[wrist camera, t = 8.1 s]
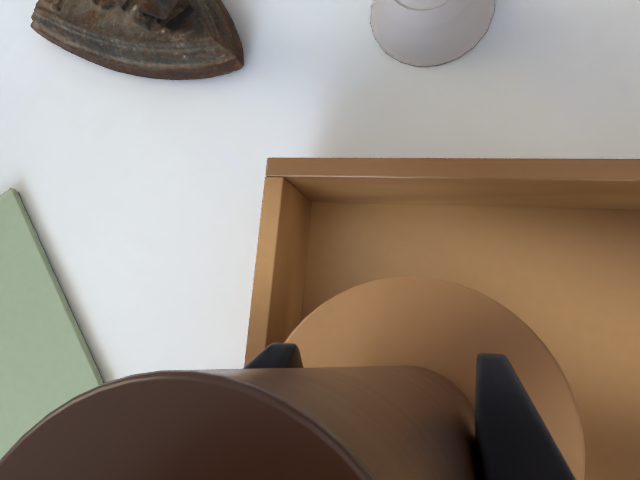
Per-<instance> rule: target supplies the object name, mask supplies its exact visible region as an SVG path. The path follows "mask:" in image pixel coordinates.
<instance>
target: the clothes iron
mask: <svg viewBox="0 0 640 480" xmlns="http://www.w3.org/2000/svg"><path fill="white" fill-rule="evenodd" d="M31 18H32V20H33V22H32V23H31V27H32V28H33V29H34V30H35V31H36V32H37V33H38V34H40V35H41V36H43V37H44V38H46V39H47V40H49V41H51V42H52V43H54V44H56V45H58V46H60V47H61V48H63V49H65V50H67V51H69V52H70V53H73V54H75V55H77V56H79V57H81V58H84V59H86V60H88V61H90V62H93V63H96V64H98V65H101V66H103V67H106V68H109V69H112V70H115V71H118V72H123V73H128V74H132V75H136V76H142V77H149V78H157V79H170V80H184V79H185V80H189V79H203V78H210V77H214V76H219V75H224V74H228V73H230V72H233V71H236V70H238V69H241V68H242V67H243V65H244V63H243V50H242V45H241V42H240V39H239V36H238V33H237V31H236V28H235V26H234V23H233V21H232V19H231V17H230V15H229V13H228V11H227V10H226V8H225V7H224V5H223V3H222V2H221V0H39V1H38V2H37V4H36V7H35V9H34V13H33V15H32V17H31Z"/></svg>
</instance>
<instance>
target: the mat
mask: <svg viewBox="0 0 640 480" xmlns="http://www.w3.org/2000/svg"><path fill="white" fill-rule="evenodd" d="M103 383H104V382H103V380H102V378H101V376H100V373H99V371H98V369H97V367H96V365H95V362H94V360H93V358H92V356H91V354H90V351H89V349H88V347H87V345H86V342H85V340H84V338H83V336H82V334H81V331H80V329H79V327H78V325H77V323H76V320H75V318H74V316H73V314H72V312H71V309H70V307H69V305H68V303H67V300H66V298H65V296H64V294H63V292H62V289H61V287H60V285H59V283H58V281H57V278H56V276H55V274H54V272H53V270H52V267H51V265H50V263H49V261H48V258H47V256H46V254H45V252H44V250H43V247H42V245H41V243H40V241H39V239H38V236H37V234H36V232H35V230H34V228H33V225H32V223H31V221H30V219H29V216H28V214H27V212H26V210H25V208H24V205H23V203H22V201H21V199H20V197H19V194H18V192H17V190H15V189H12V188H11V189H9V190H8V191H6V192H5V193H4V194H2V195H1V196H0V460H1V458H2V457H3V456H4V455H5V454H6V453H7V452H8V451H9V450H10V449H11V447H12V446H13V445H14V444H15V443H16V442H17V441H18V440H19V439H20V438H21V437H22V436H23V435H24V434H25V433H26V432H27V431H28V430H30V429H31V428H32V427H33V426H34V425H36V424H37V423H38V422H39V421H40V420H41V419H43V418H44V417H45V416H46V415H47V414H49V413H50V412H51V411H53V410H55V409H56V408H58V407H59V406H61V405H62V404H64V403H65V402H67V401H69V400H70V399H72V398H73V397H75V396H77V395H79V394H81V393H83V392H86V391H88V390H90V389H92V388H94V387H96V386H98V385H101V384H103Z"/></svg>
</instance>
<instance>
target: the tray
mask: <svg viewBox="0 0 640 480" xmlns="http://www.w3.org/2000/svg"><path fill="white" fill-rule="evenodd" d="M411 276H416V277H426V278H436V279H440V280H445V281H449V282H454V283H457V284H460V285H463V286H465V287H468V288H471V289H474V290H476V291H478V292H480V293H482V294H484V295H486V296H488V297H490V298H492V299H494V300H496V301H497V302H498V303H500V304H501V305H503V306H504V307H506V308H507V309H509V310H510V311H512V312H513V313H514V314H515V315H517V316H518V317H519V318H520V319H521V320H522V321H523V322H525V323H526V324H527V325H528V326H529V327H530V328H531V329H532V330H533V331H534V332H535V333H536V335H537V336H538V337H539V338H540V339H541V340H542V341H543V343H544V344H545V345H546V346H547V348H548V349H549V350H550V352H551V353H552V355H553V356H554V358H555V359H556V361H557V362H558V364H559V365H560V367H561V369H562V371H563V373H564V375H565V377H566V379H567V381H568V383H569V385H570V387H571V390H572V393H573V396H574V398H575V401H576V404H577V407H578V410H579V415H580V419H581V424H582V428H583V434H584V446H585V473H584V480H640V159H504V158H268V159H267V167H266V177H265V183H264V192H263V201H262V210H261V219H260V229H259V238H258V247H257V256H256V265H255V274H254V283H253V292H252V301H251V310H250V319H249V329H248V338H247V347H246V356H245V365H244V367H245V366H246V365H247V364H249V363H250V362H251V361H252V360H253V359H254V358H255V357H256V356H257V355H259V354H260V353H261V352H262V351H263V350H264V349H265V348H266V347H268V346H269V345H270V344H272V343H275V342H278V343H284V342H285V341H286V340H287V338H288V337H289V335H290V334H291V333H292V331H293V330H294V329H295V328H296V327H297V326H298V325H299V324H300V323H301V322H302V321H303V320H304V319H305V317H307V316H308V315H309V314H310V313H311V312H313V311H314V310H315V309H316V308H318V307H319V306H320V305H321V304H323V303H325V302H326V301H328V300H329V299H331V298H333V297H334V296H336V295H337V294H339V293H342V292H344V291H346V290H348V289H350V288H353V287H355V286H358V285H361V284H364V283H368V282H371V281H374V280H380V279H386V278H392V277H411Z"/></svg>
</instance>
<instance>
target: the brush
mask: <svg viewBox="0 0 640 480" xmlns="http://www.w3.org/2000/svg"><path fill="white" fill-rule="evenodd" d="M284 343H294V344H296V345H297V346H298V348H299V351H300V355H301V359H302V364H303V368H266V369H217V370H168V371H156V372H149V373H142V374H135V375H130V376H126V377H123V378H120V379H116V380H113V381H110V382H106V383H103V384H101V385H98V386H96V387H94V388H92V389H90V390H88V391H86V392H83V393H81V394H79V395H77V396H75V397H73V398H72V399H70V400H69V401H67V402H65V403H64V404H62V405H61V406H59V407H58V408H56V409H55V410H53V411H51V412H50V413H49V414H47V415H46V416H45V417H44V418H43V419H41V420H40V421H39V422H38V423H37V424H36V425H34V426H33V427H32V428H31V429H30V430H28V431H27V432H26V433H25V434H24V435H23V436H22V437H21V438H20V439H19V440H18V441H17V442H16V443H15V444H14V445H13V446H12V447H11V449H10V450H9V451H8V452H7V453H6V454H5V455H4V456H3V457H2V458H1V460H0V480H478V472H477V464H476V456H475V383H476V358H477V355H478V354H479V353H494V354H504V355H505V356H506V357H507V358H508V359H509V361H510V363H511V365H512V366H513V368H514V370H515V372H516V374H517V375H518V377H519V379H520V381H521V382H522V384H523V386H524V388H525V390H526V391H527V393H528V395H529V397H530V398H531V400H532V402H533V404H534V405H535V407H536V409H537V411H538V413H539V414H540V416H541V418H542V420H543V421H544V423H545V425H546V427H547V428H548V430H549V432H550V434H551V436H552V437H553V439H554V441H555V443H556V444H557V446H558V448H559V450H560V452H561V453H562V455H563V457H564V459H565V460H566V462H567V464H568V466H569V467H570V469H571V471H572V473H573V475H574V476H575V478H576V480H584V473H585V446H584V434H583V428H582V424H581V419H580V415H579V410H578V407H577V404H576V401H575V398H574V396H573V393H572V390H571V387H570V385H569V383H568V381H567V379H566V377H565V375H564V373H563V371H562V369H561V367H560V365H559V364H558V362H557V361H556V359H555V358H554V356H553V355H552V353H551V352H550V350H549V349H548V348H547V346H546V345H545V344H544V343H543V341H542V340H541V339H540V338H539V337H538V336H537V335H536V333H535V332H534V331H533V330H532V329H531V328H530V327H529V326H528V325H527V324H526V323H525V322H523V321H522V320H521V319H520V318H519V317H518V316H517V315H515V314H514V313H513V312H512V311H510V310H509V309H507V308H506V307H504V306H503V305H501V304H500V303H498V302H497V301H496V300H494V299H492V298H490V297H488V296H486V295H484V294H482V293H480V292H478V291H476V290H474V289H471V288H468V287H465V286H463V285H460V284H457V283H454V282H449V281H445V280H440V279H436V278H426V277H416V276H411V277H392V278H386V279H380V280H374V281H371V282H368V283H364V284H361V285H358V286H355V287H353V288H350V289H348V290H346V291H344V292H342V293H339V294H337V295H336V296H334V297H333V298H331V299H329V300H328V301H326V302H325V303H323V304H321V305H320V306H319V307H318V308H316V309H315V310H314V311H313V312H311V313H310V314H309V315H308V316H307V317H305V319H304V320H303V321H302V322H301V323H300V324H299V325H298V326H297V327H296V328H295V329H294V330H293V331H292V333H291V334H290V335H289V337H288V338H287V340H286V341H285V342H284Z"/></svg>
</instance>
